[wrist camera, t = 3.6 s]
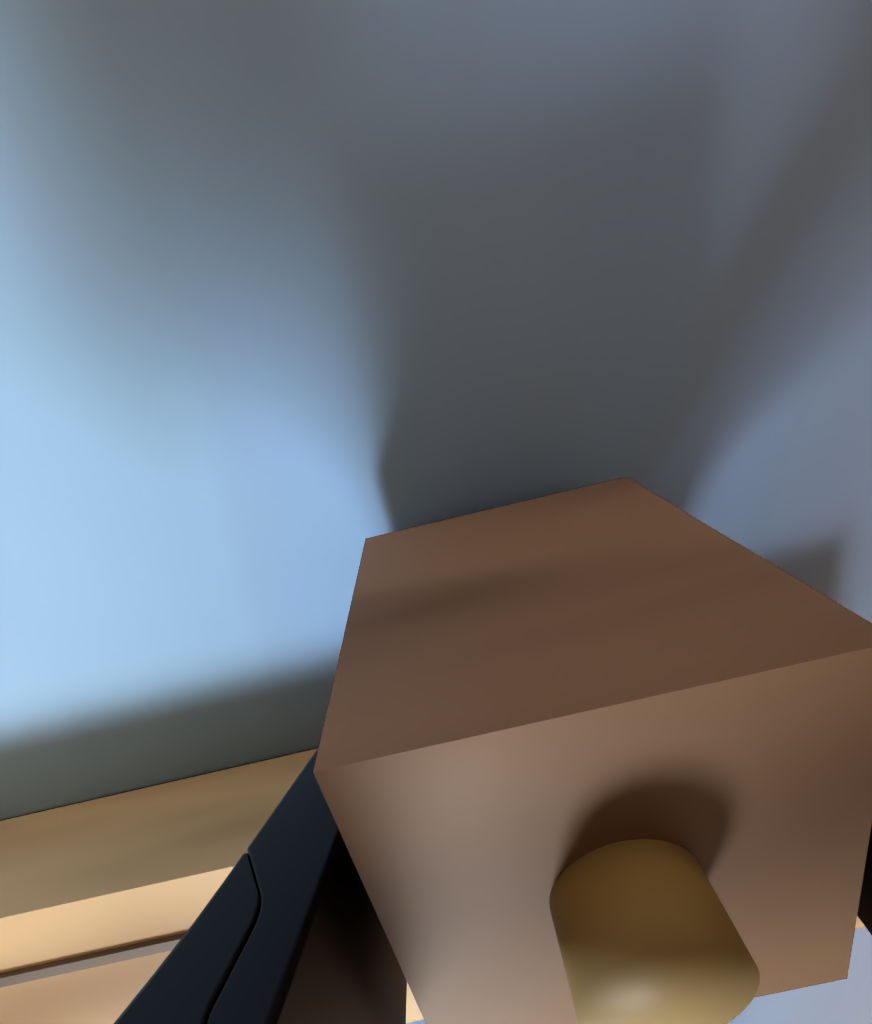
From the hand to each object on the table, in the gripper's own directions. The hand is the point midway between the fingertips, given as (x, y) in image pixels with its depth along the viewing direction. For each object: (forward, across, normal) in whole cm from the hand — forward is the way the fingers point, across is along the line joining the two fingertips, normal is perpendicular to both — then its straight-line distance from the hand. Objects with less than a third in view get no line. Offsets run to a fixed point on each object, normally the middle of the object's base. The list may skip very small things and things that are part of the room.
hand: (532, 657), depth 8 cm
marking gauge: (+1, 0, +2) cm, 3 cm away
